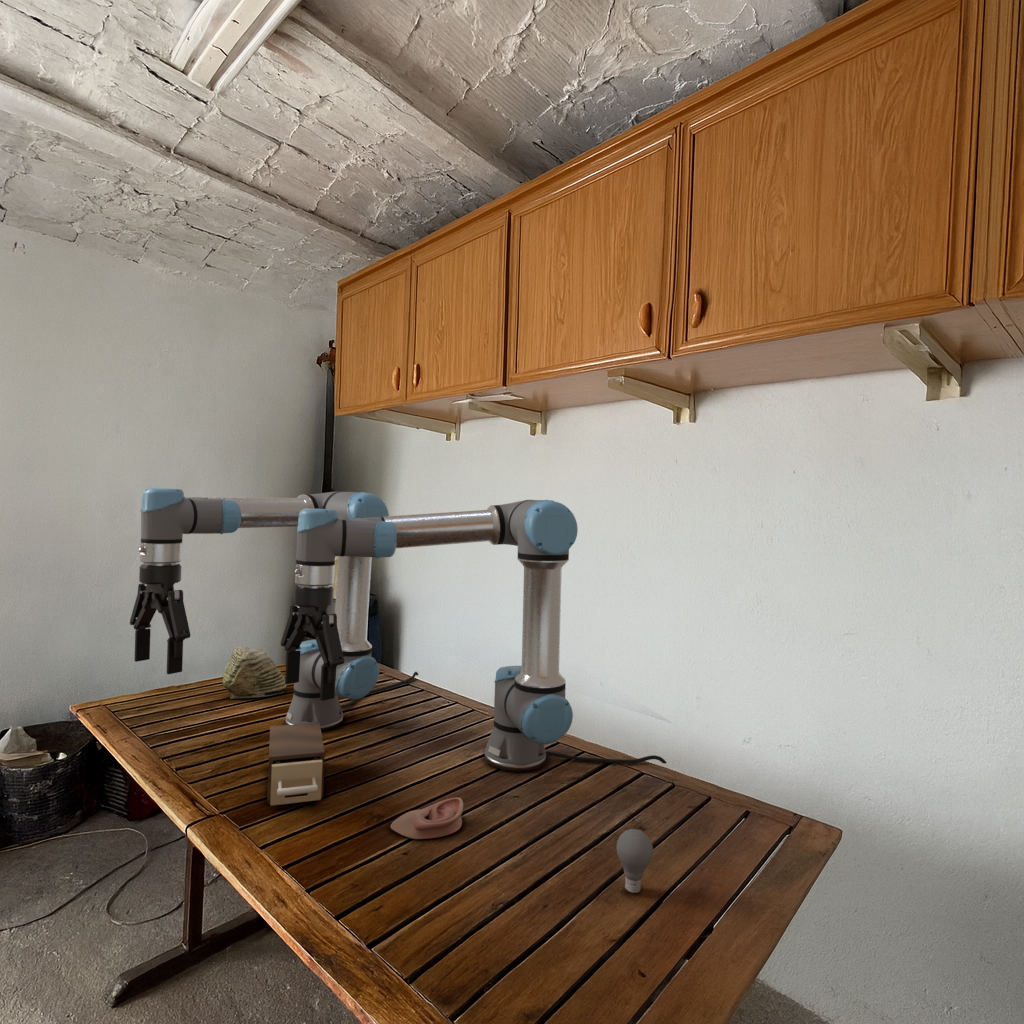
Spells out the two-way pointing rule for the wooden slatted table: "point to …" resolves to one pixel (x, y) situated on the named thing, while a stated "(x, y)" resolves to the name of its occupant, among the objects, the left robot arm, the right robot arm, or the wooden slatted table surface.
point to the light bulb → (634, 857)
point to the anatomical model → (431, 820)
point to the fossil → (252, 674)
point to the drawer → (296, 780)
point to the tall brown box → (295, 746)
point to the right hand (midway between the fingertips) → (308, 690)
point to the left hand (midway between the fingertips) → (157, 666)
